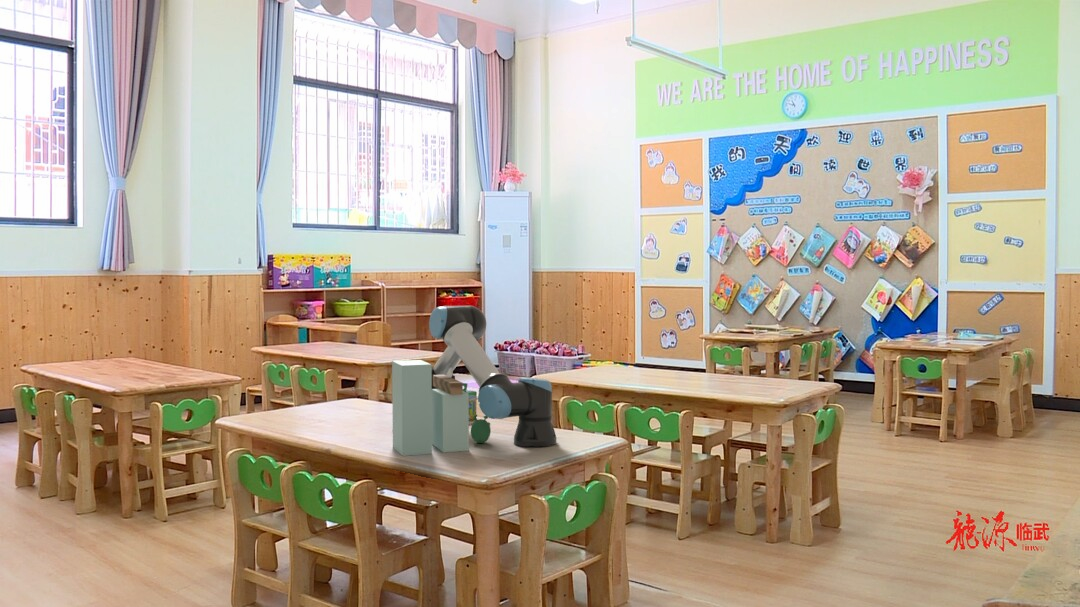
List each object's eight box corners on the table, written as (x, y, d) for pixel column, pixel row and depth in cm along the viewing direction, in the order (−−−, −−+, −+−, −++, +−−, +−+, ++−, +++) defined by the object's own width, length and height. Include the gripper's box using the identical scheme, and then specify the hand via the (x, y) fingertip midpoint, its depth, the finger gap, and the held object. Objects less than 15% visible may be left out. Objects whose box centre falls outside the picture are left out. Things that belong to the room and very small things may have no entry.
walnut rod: (462, 394, 299) (462, 382, 299) (451, 395, 298) (451, 383, 297) (443, 385, 321) (443, 374, 321) (432, 386, 320) (432, 374, 320)
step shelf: (469, 450, 302) (468, 362, 300) (402, 455, 293) (401, 365, 292) (456, 442, 316) (456, 358, 315) (392, 447, 308) (391, 360, 306)
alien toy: (494, 441, 317) (494, 413, 317) (485, 445, 310) (484, 417, 310) (477, 440, 320) (477, 412, 320) (467, 444, 313) (467, 415, 312)
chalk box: (445, 419, 363) (445, 383, 363) (461, 416, 370) (460, 381, 370) (461, 422, 357) (461, 385, 357) (477, 418, 365) (477, 383, 364)
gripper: (453, 400, 347) (467, 379, 329) (390, 404, 338) (401, 382, 320) (451, 383, 350) (464, 361, 332) (388, 386, 341) (399, 363, 323)
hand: (433, 371), depth 326 cm, fingers open, 13 cm apart
